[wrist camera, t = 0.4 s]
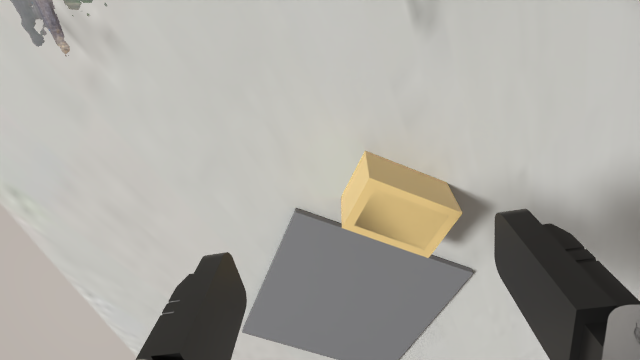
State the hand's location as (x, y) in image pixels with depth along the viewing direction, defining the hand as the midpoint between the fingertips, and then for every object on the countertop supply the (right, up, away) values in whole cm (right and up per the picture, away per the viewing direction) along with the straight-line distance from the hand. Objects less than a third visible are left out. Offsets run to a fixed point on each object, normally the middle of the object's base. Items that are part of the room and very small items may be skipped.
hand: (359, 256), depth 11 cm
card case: (+5, +2, +19) cm, 20 cm away
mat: (+2, -10, +26) cm, 28 cm away
